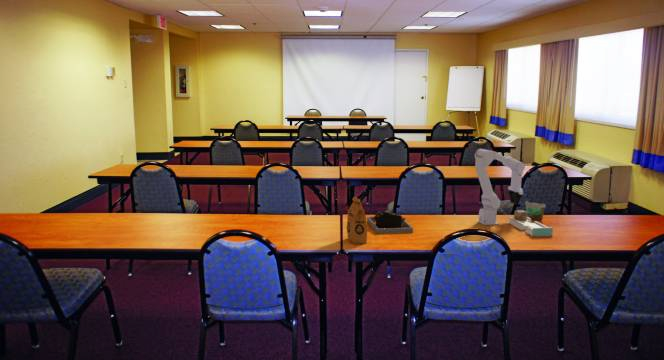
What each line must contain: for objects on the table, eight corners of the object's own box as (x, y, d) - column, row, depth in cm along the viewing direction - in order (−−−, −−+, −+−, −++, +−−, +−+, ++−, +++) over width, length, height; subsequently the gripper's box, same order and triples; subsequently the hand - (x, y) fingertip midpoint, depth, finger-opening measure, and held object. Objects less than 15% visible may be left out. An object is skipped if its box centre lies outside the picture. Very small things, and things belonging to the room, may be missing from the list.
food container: (520, 217, 310) (521, 201, 308) (525, 216, 314) (526, 200, 312) (539, 221, 301) (541, 205, 299) (544, 220, 305) (546, 203, 303)
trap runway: (533, 236, 272) (533, 228, 271) (508, 222, 298) (509, 215, 297) (552, 235, 273) (553, 227, 272) (526, 222, 299) (527, 214, 298)
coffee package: (349, 245, 256) (350, 202, 251) (345, 237, 268) (346, 196, 264) (369, 244, 257) (370, 201, 253) (364, 237, 269) (364, 196, 265)
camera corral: (377, 233, 275) (377, 229, 274) (367, 220, 300) (367, 216, 300) (412, 232, 278) (413, 228, 277) (400, 219, 303) (400, 215, 302)
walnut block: (518, 220, 293) (518, 212, 292) (514, 218, 298) (514, 210, 297) (526, 220, 294) (527, 212, 293) (522, 218, 298) (522, 210, 298)
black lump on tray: (404, 224, 293) (404, 207, 291) (405, 230, 281) (405, 213, 279) (373, 223, 295) (373, 206, 293) (372, 229, 283) (373, 212, 281)
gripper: (528, 183, 293) (527, 206, 296) (516, 178, 307) (514, 200, 310) (517, 183, 292) (515, 207, 295) (505, 179, 306) (503, 201, 309)
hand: (514, 203), depth 302 cm, fingers open, 4 cm apart
